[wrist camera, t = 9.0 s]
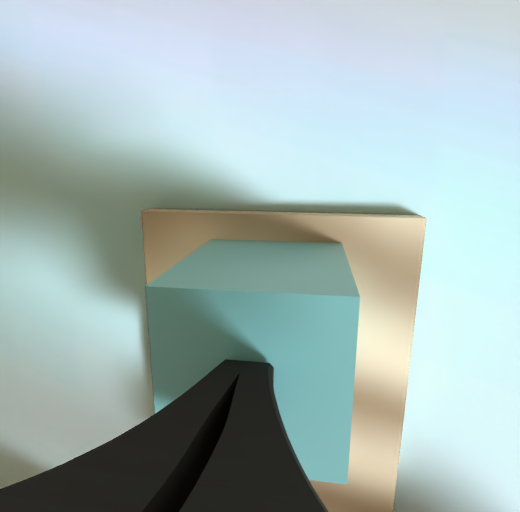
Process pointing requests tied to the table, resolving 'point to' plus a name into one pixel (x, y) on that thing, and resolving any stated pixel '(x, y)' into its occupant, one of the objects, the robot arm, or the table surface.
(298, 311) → the pale aqua cube
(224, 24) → the table surface
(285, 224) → the birch board
